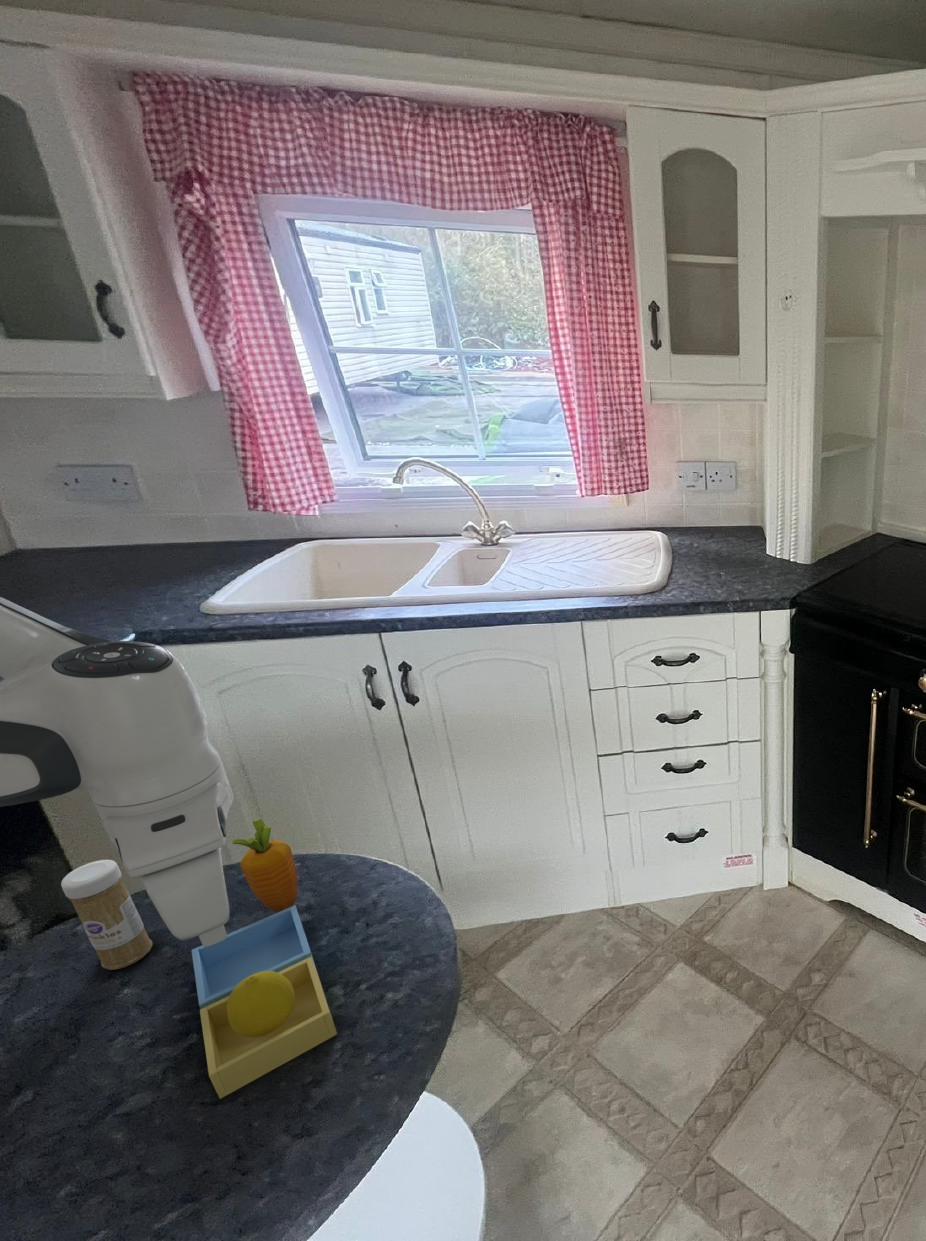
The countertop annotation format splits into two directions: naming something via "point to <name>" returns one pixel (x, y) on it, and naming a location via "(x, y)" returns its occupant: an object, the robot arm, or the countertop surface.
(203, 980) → the blue bin
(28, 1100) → the countertop surface
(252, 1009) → the lemon
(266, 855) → the carrot
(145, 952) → the sprinkles bottle
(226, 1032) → the yellow bin
